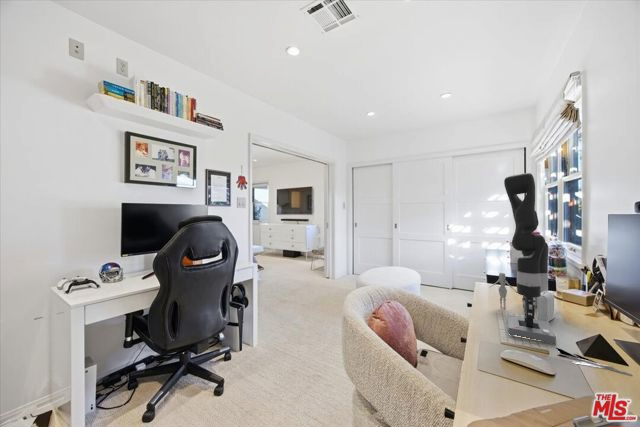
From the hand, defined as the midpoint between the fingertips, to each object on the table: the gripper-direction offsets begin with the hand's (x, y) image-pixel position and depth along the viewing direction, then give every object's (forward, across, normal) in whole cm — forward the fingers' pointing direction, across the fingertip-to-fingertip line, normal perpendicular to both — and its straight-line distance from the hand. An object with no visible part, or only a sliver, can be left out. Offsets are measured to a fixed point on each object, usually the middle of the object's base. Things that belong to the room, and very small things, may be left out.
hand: (528, 324), depth 106 cm
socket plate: (+3, 0, 0) cm, 3 cm away
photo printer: (+3, -21, +8) cm, 23 cm away
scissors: (+4, +17, +12) cm, 21 cm away
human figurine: (+3, -26, -8) cm, 27 cm away
